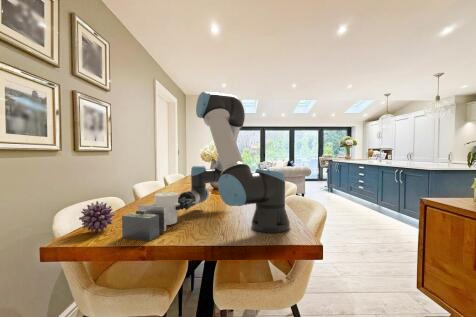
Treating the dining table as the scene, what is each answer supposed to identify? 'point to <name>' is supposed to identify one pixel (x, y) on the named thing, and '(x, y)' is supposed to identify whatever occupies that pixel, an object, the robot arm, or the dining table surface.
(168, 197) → the white cream cup
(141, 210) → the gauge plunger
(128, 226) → the box
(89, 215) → the flower
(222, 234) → the dining table surface
